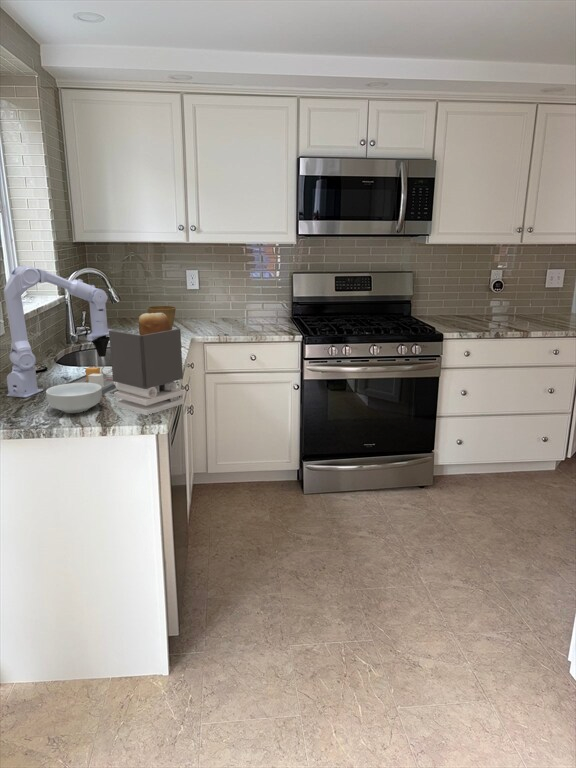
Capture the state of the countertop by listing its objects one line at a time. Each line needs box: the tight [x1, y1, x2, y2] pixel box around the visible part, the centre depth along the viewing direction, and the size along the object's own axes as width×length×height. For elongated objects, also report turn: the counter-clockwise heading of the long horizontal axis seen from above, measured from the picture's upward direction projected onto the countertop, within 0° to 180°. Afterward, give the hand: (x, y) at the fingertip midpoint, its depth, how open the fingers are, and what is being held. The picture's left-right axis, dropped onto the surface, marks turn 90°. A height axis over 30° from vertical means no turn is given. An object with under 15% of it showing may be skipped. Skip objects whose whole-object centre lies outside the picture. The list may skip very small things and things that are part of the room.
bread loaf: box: [138, 312, 170, 335], centre depth 221 cm, size 14×13×25 cm
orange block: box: [85, 366, 101, 381], centre depth 210 cm, size 3×4×4 cm
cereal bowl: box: [45, 383, 103, 414], centre depth 180 cm, size 17×17×7 cm
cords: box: [65, 374, 119, 395], centre depth 210 cm, size 19×22×1 cm
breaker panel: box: [73, 373, 116, 395], centre depth 206 cm, size 21×16×6 cm
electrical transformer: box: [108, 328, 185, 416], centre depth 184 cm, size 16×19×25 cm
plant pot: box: [146, 305, 176, 330], centre depth 304 cm, size 15×15×16 cm
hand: (102, 356), depth 215 cm, fingers closed
